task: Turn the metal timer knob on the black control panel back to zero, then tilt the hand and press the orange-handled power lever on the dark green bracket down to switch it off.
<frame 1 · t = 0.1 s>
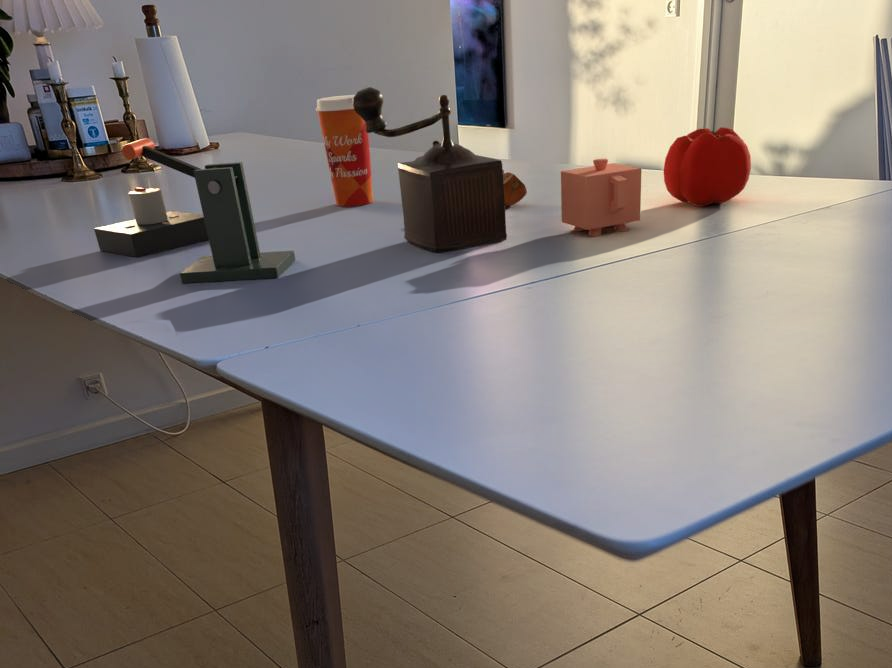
timer knob: (148, 205, 129), point 5 cm above the table, hinge at 90.0°
tomato: (704, 204, 129), on the table
power lever: (182, 167, 108), point 12 cm above the table, hinge at 25.0°
coffee cup: (355, 204, 150), on the table
bread roll: (504, 208, 138), on the table
switch bracket: (240, 271, 114), on the table
brown coffee grinder: (436, 245, 119), on the table
pink cube teapot: (598, 230, 120), on the table
dial panel: (158, 244, 132), on the table
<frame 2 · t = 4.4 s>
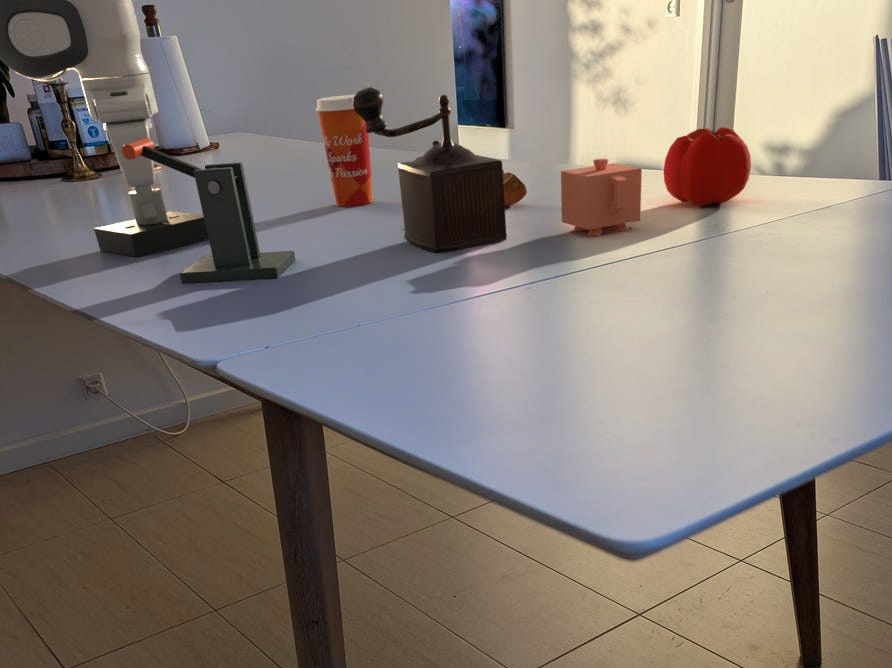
hand: (150, 213, 130), 4 cm above the table, tool pointing down, fingers closed on timer knob, 4 cm apart
timer knob: (148, 205, 129), point 5 cm above the table, hinge at 89.9°, touching gripper
everything else where it was.
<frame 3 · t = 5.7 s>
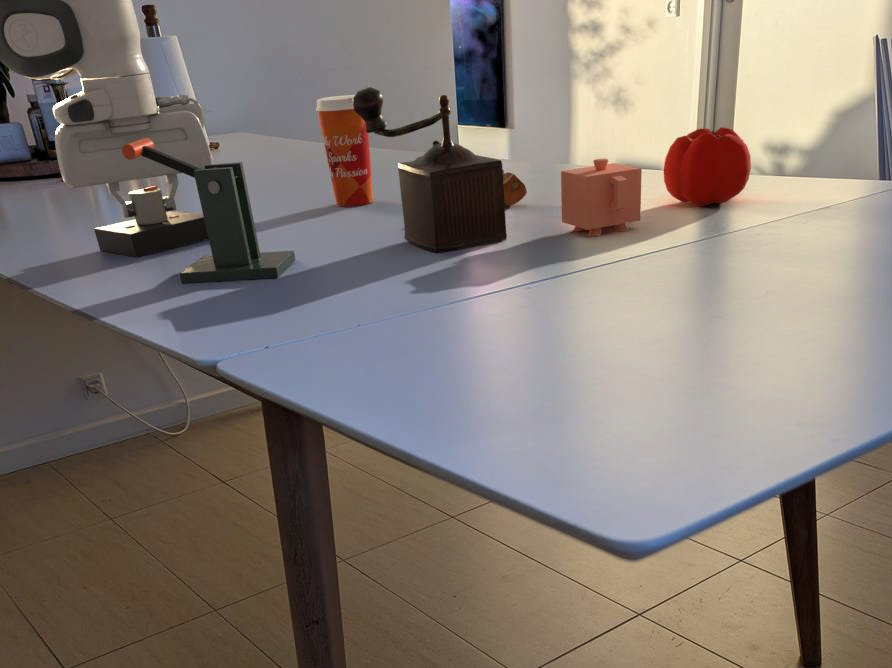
hand: (150, 213, 130), 4 cm above the table, tool pointing down, fingers closed on timer knob, 4 cm apart
timer knob: (148, 205, 129), point 5 cm above the table, hinge at 8.3°, touching gripper
everything else where it was.
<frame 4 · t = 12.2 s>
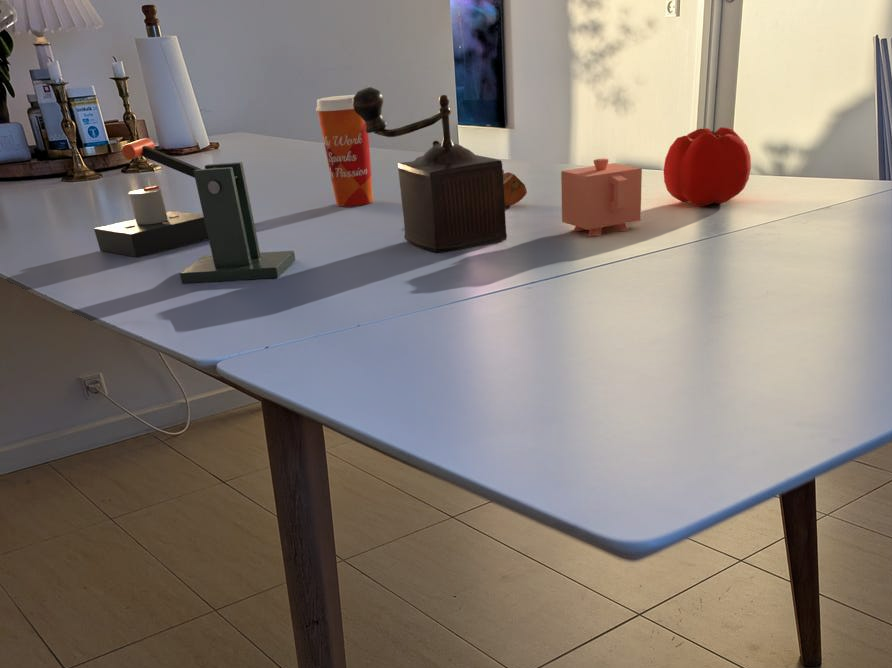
hand: (7, 23, 99), 27 cm above the table, tool tilted 40°, fingers closed
timer knob: (148, 205, 129), point 5 cm above the table, hinge at -3.5°
everything else where it was.
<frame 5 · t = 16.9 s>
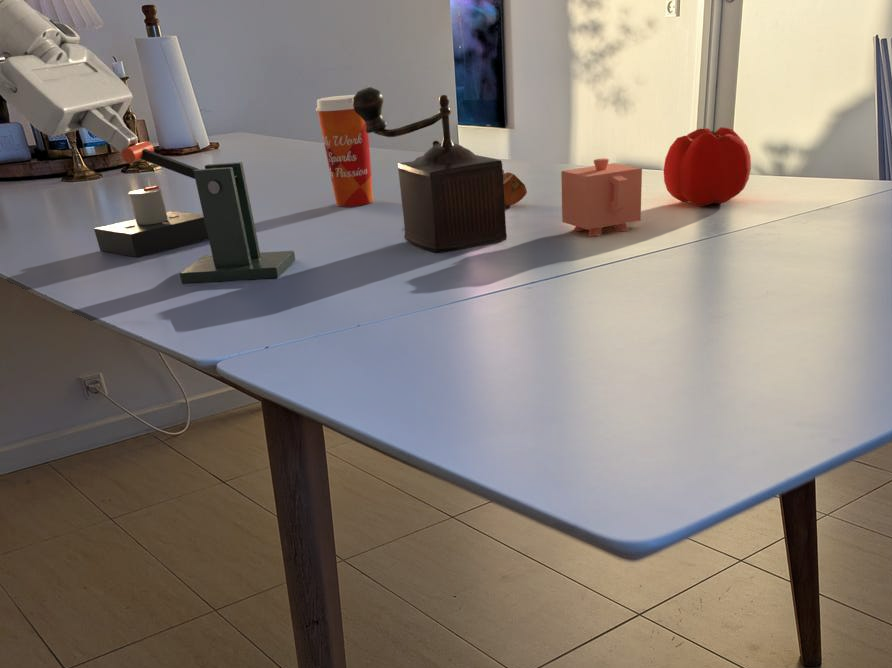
hand: (131, 146, 106), 15 cm above the table, tool tilted 45°, fingers closed, pressing on power lever
power lever: (182, 168, 108), point 12 cm above the table, hinge at 22.7°, touching gripper
everything else where it was.
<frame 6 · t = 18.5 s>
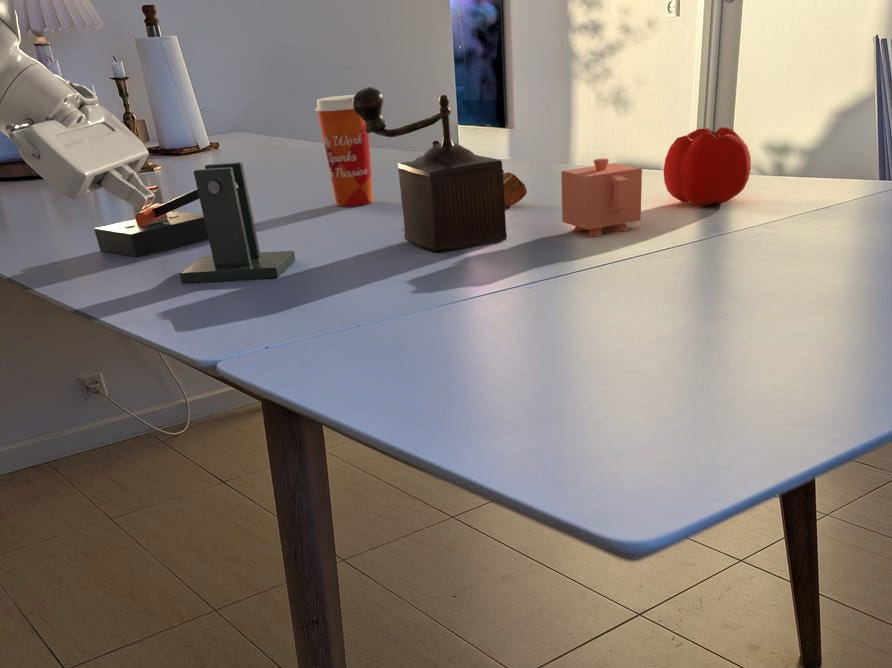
hand: (148, 203, 110), 8 cm above the table, tool tilted 45°, fingers closed, pressing on power lever
power lever: (188, 198, 109), point 9 cm above the table, hinge at -16.9°, touching gripper
everything else where it was.
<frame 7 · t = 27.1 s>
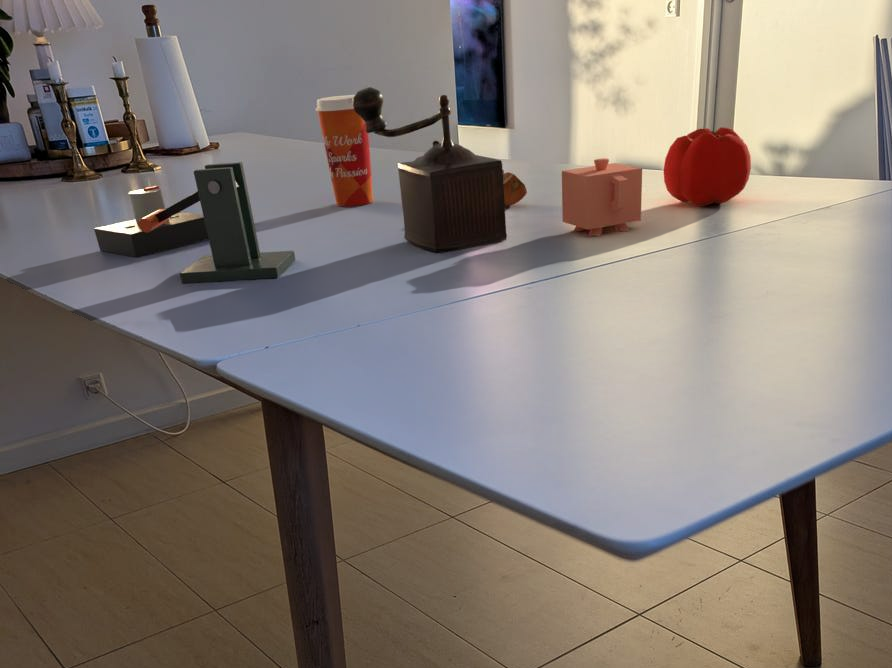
power lever: (189, 200, 110), point 8 cm above the table, hinge at -20.8°
everything else where it was.
at the end: timer knob at -4° (first picture: +90°); power lever at -21° (first picture: +25°) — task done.
